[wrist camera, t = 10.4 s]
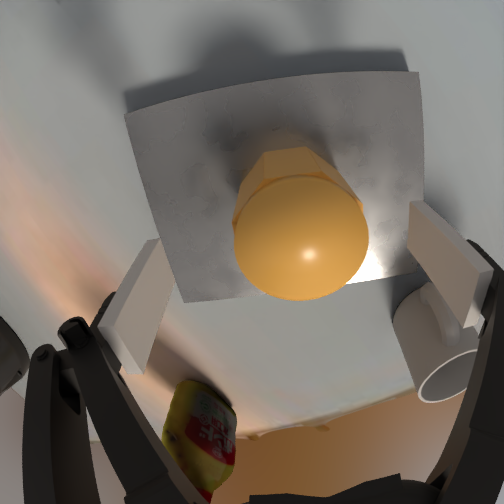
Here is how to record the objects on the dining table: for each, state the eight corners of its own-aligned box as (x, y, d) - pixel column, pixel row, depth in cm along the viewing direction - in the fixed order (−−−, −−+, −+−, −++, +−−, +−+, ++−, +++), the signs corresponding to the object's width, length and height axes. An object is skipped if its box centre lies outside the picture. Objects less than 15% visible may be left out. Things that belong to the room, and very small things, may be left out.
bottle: (162, 372, 34) (122, 528, 17) (210, 366, 33) (182, 541, 15) (205, 420, 40) (187, 546, 22) (247, 416, 38) (238, 551, 21)
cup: (394, 344, 30) (417, 411, 23) (381, 276, 26) (416, 351, 18) (451, 321, 28) (484, 381, 21) (450, 249, 24) (500, 312, 16)
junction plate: (187, 292, 27) (173, 336, 23) (132, 112, 19) (95, 123, 15) (410, 262, 25) (435, 301, 20) (409, 72, 17) (449, 72, 12)
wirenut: (252, 244, 23) (247, 307, 17) (234, 157, 20) (220, 192, 14) (342, 232, 22) (367, 291, 16) (335, 143, 19) (367, 172, 13)
